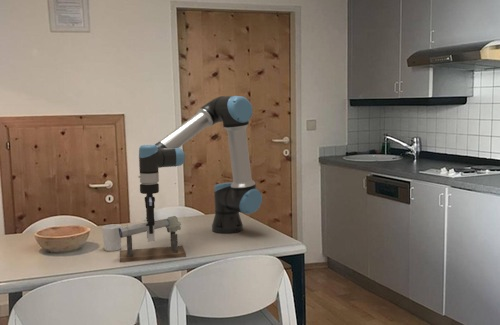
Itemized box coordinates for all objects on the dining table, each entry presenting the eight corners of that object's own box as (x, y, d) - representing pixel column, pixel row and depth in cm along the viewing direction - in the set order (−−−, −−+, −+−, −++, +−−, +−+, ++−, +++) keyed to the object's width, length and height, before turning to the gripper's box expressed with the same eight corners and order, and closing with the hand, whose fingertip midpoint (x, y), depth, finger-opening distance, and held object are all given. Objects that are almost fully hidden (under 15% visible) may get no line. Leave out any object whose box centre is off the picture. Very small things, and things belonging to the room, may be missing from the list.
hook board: (182, 248, 235) (181, 228, 234) (185, 256, 223) (185, 234, 222) (120, 254, 229) (118, 232, 228) (120, 262, 217) (119, 239, 216)
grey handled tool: (117, 226, 222) (176, 212, 231) (120, 242, 223) (179, 227, 232) (119, 229, 217) (180, 214, 226) (123, 245, 218) (183, 229, 227)
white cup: (102, 248, 239) (100, 225, 238) (120, 245, 242) (119, 223, 241) (104, 252, 232) (103, 229, 231) (123, 250, 235) (122, 227, 234)
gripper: (139, 180, 231) (140, 234, 233) (140, 186, 213) (142, 245, 215) (157, 179, 232) (158, 233, 235) (160, 186, 215) (161, 244, 217)
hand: (150, 239), depth 225 cm, fingers closed on grey handled tool, 5 cm apart
